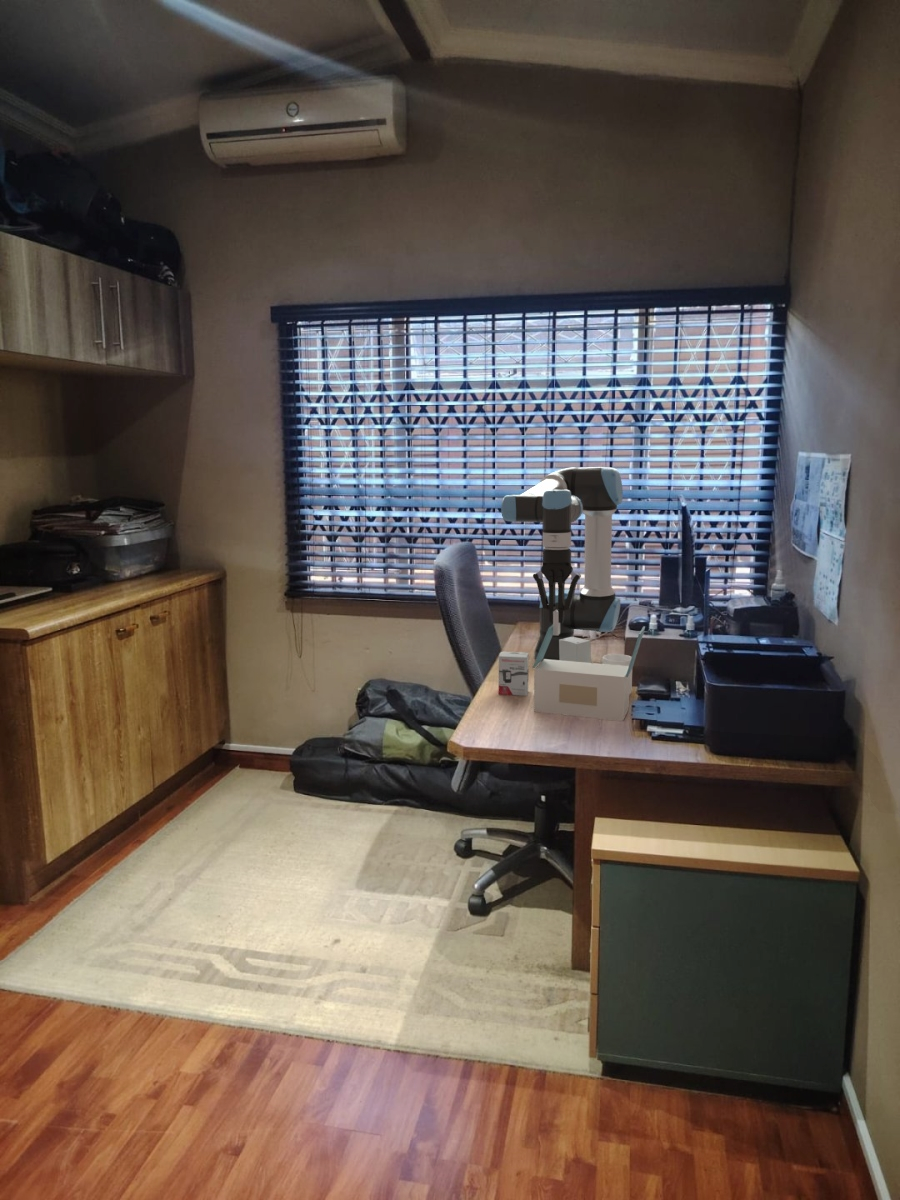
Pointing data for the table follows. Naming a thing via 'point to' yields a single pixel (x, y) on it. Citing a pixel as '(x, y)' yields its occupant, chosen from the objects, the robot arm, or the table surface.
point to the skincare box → (575, 650)
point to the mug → (618, 663)
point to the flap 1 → (544, 646)
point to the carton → (581, 689)
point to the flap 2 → (635, 651)
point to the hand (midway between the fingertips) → (556, 634)
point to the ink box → (513, 673)
